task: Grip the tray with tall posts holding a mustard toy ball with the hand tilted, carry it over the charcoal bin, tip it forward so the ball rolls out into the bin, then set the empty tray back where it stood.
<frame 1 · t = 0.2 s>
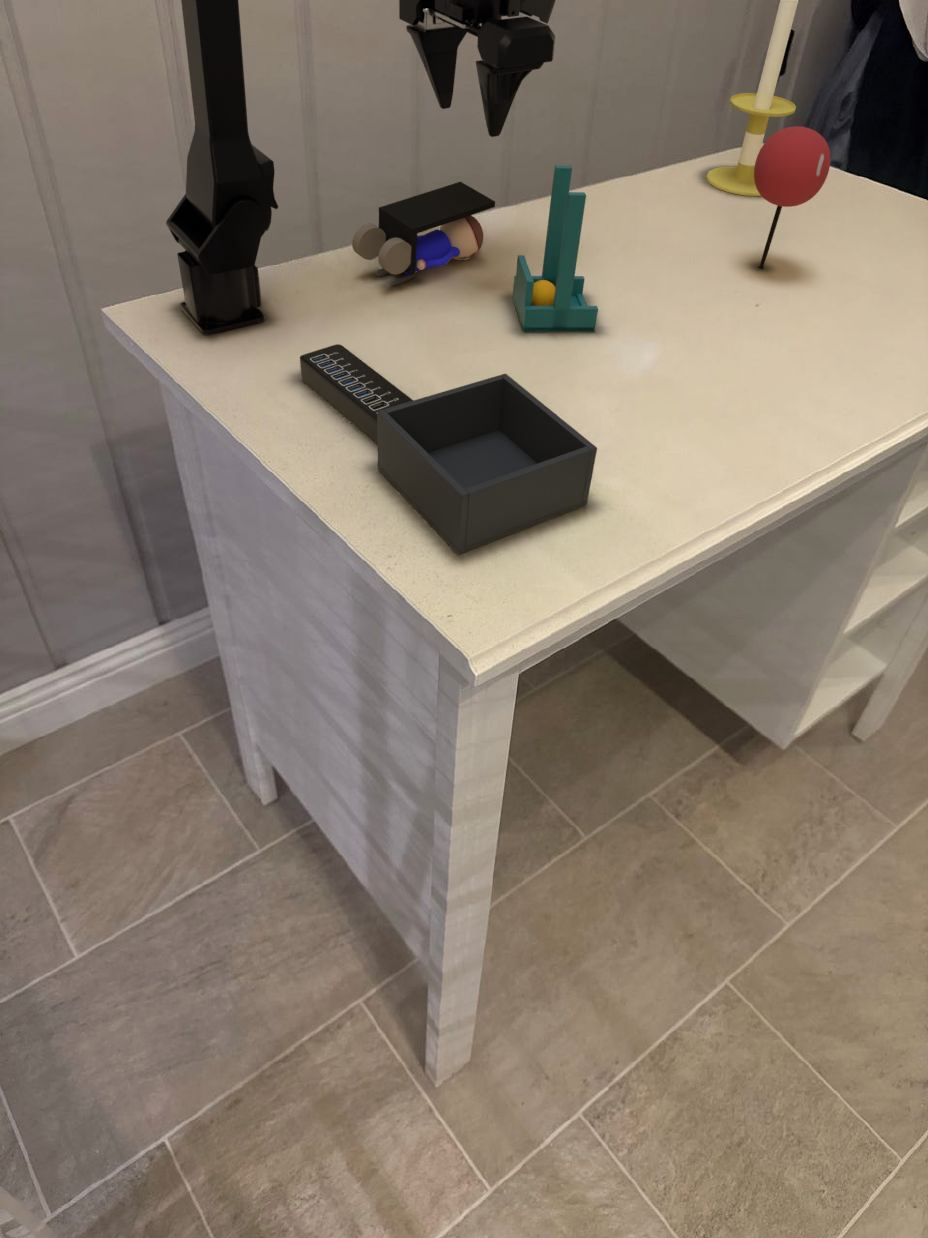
hand: (469, 121, 93), 15 cm above the table, tool pointing down, fingers open, 9 cm apart
candle: (742, 183, 126), on the table
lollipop: (761, 269, 107), on the table
figurine character: (424, 271, 102), on the table
multiport hub: (363, 409, 82), on the table
tray with tall posts: (552, 314, 96), on the table, touching toy ball
bin: (480, 487, 74), on the table
toy ball: (542, 295, 94), point 2 cm above the table, touching tray with tall posts
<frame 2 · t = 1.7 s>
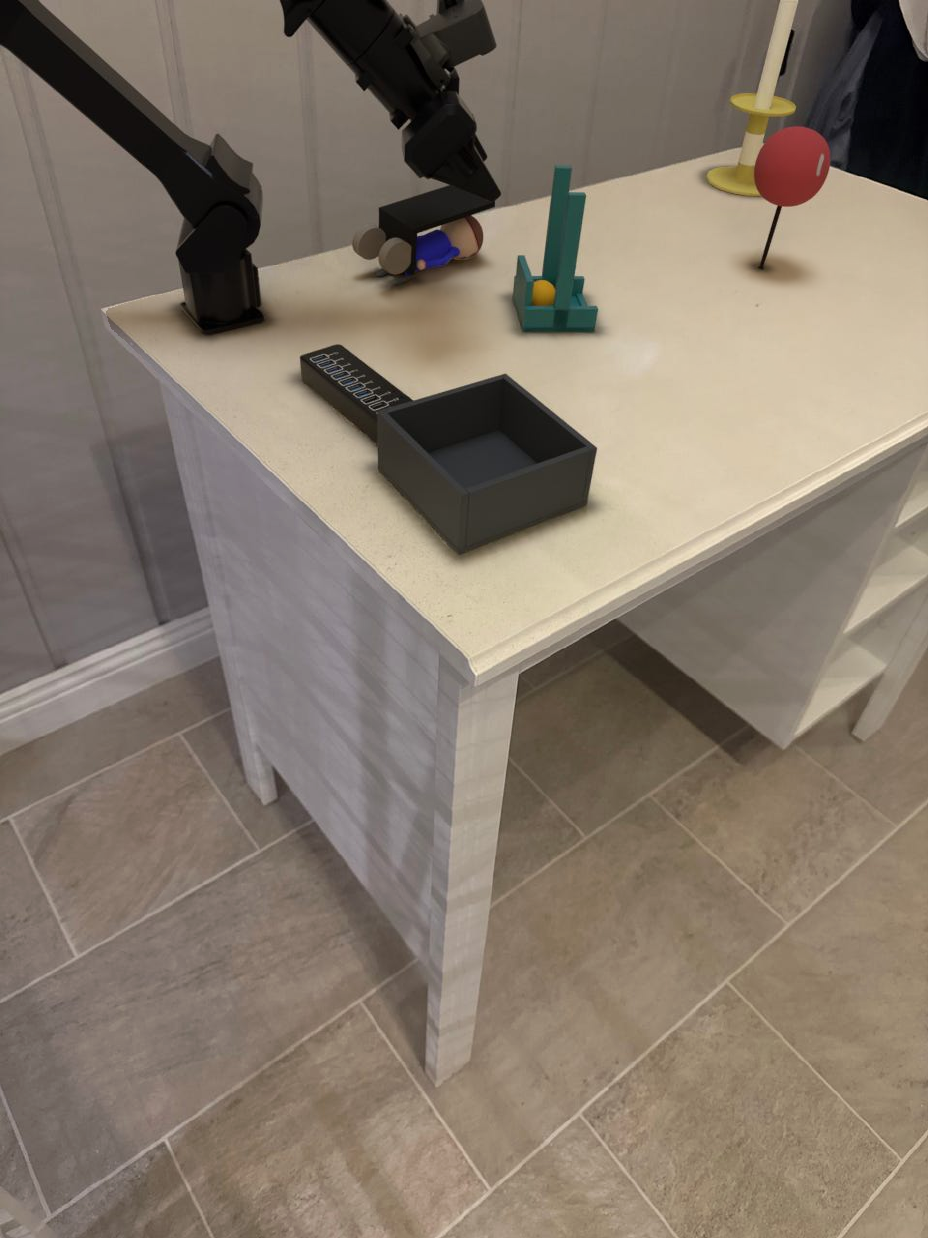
hand: (490, 178, 85), 13 cm above the table, tool tilted 45°, fingers open, 9 cm apart
toy ball: (541, 295, 94), point 2 cm above the table, tilted 5°, touching tray with tall posts
everything else where it was.
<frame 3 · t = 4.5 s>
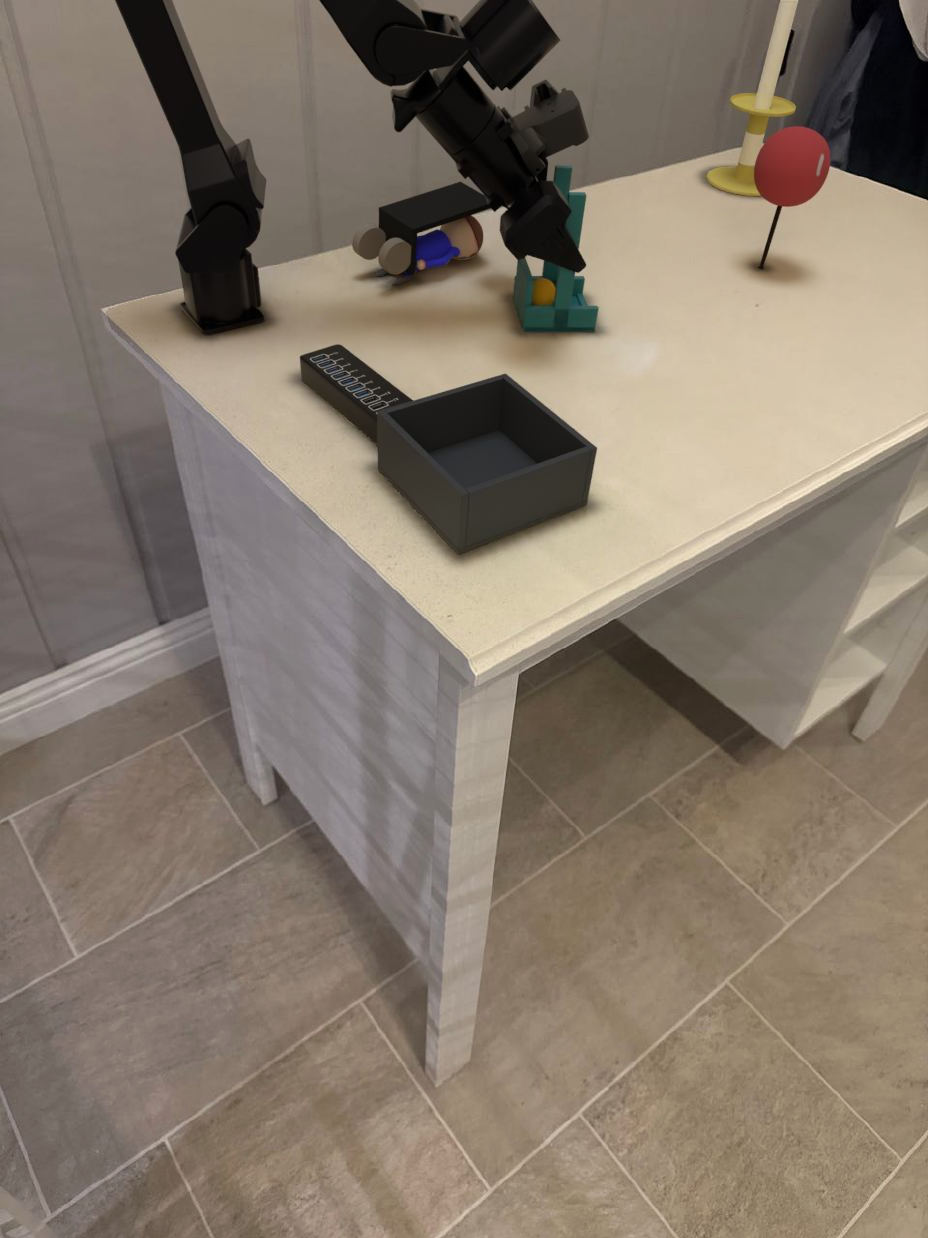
hand: (574, 251, 91), 7 cm above the table, tool tilted 45°, fingers closed on tray with tall posts, 7 cm apart
tray with tall posts: (552, 314, 96), on the table, touching gripper, toy ball
toy ball: (541, 293, 94), point 2 cm above the table, tilted 16°, touching tray with tall posts
everything else where it was.
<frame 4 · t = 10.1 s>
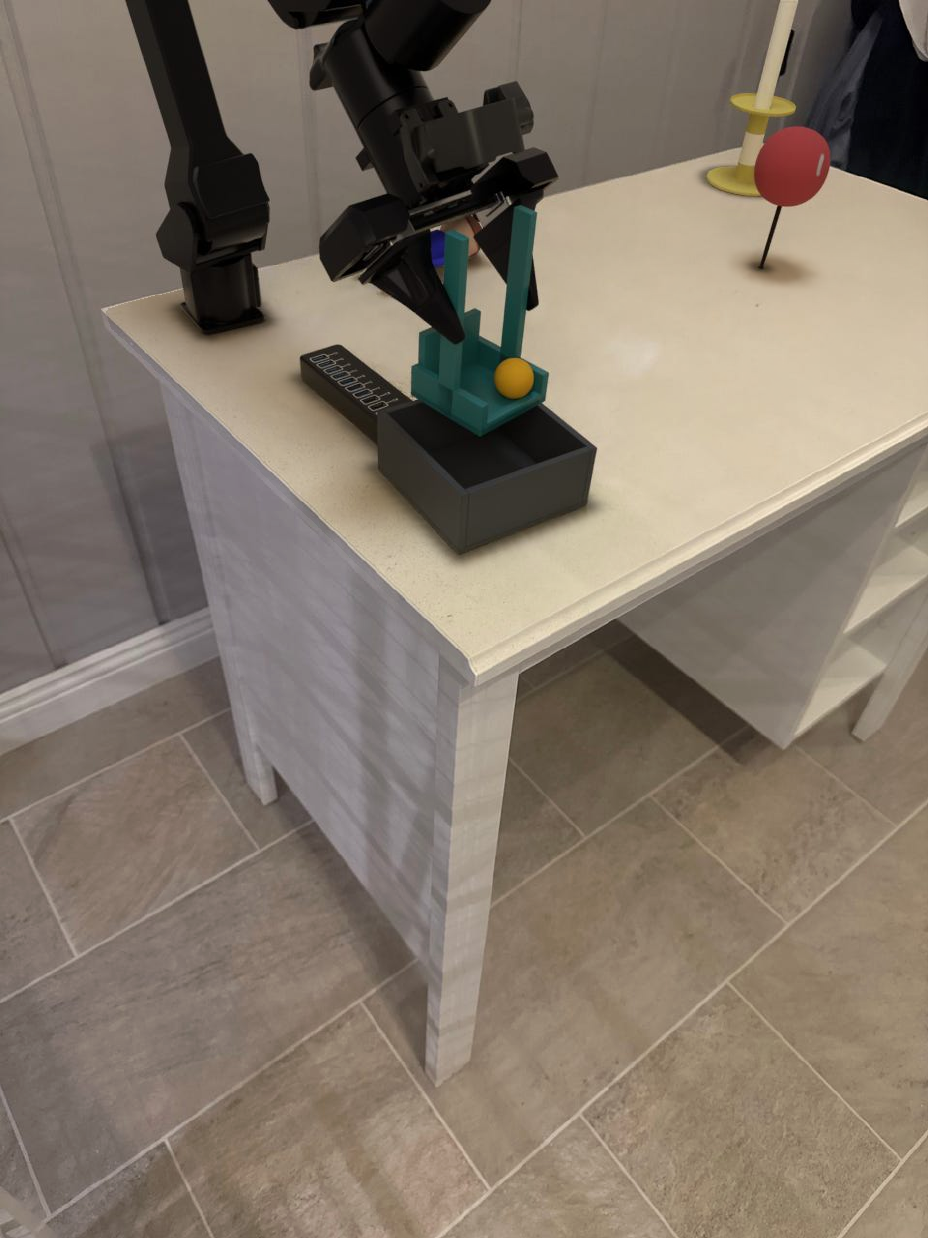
hand: (498, 324, 66), 13 cm above the table, tool tilted 45°, fingers closed on tray with tall posts, 7 cm apart
tray with tall posts: (478, 397, 71), point 7 cm above the table, touching gripper, toy ball
toy ball: (513, 378, 69), point 9 cm above the table, tilted 118°, touching tray with tall posts
everything else where it was.
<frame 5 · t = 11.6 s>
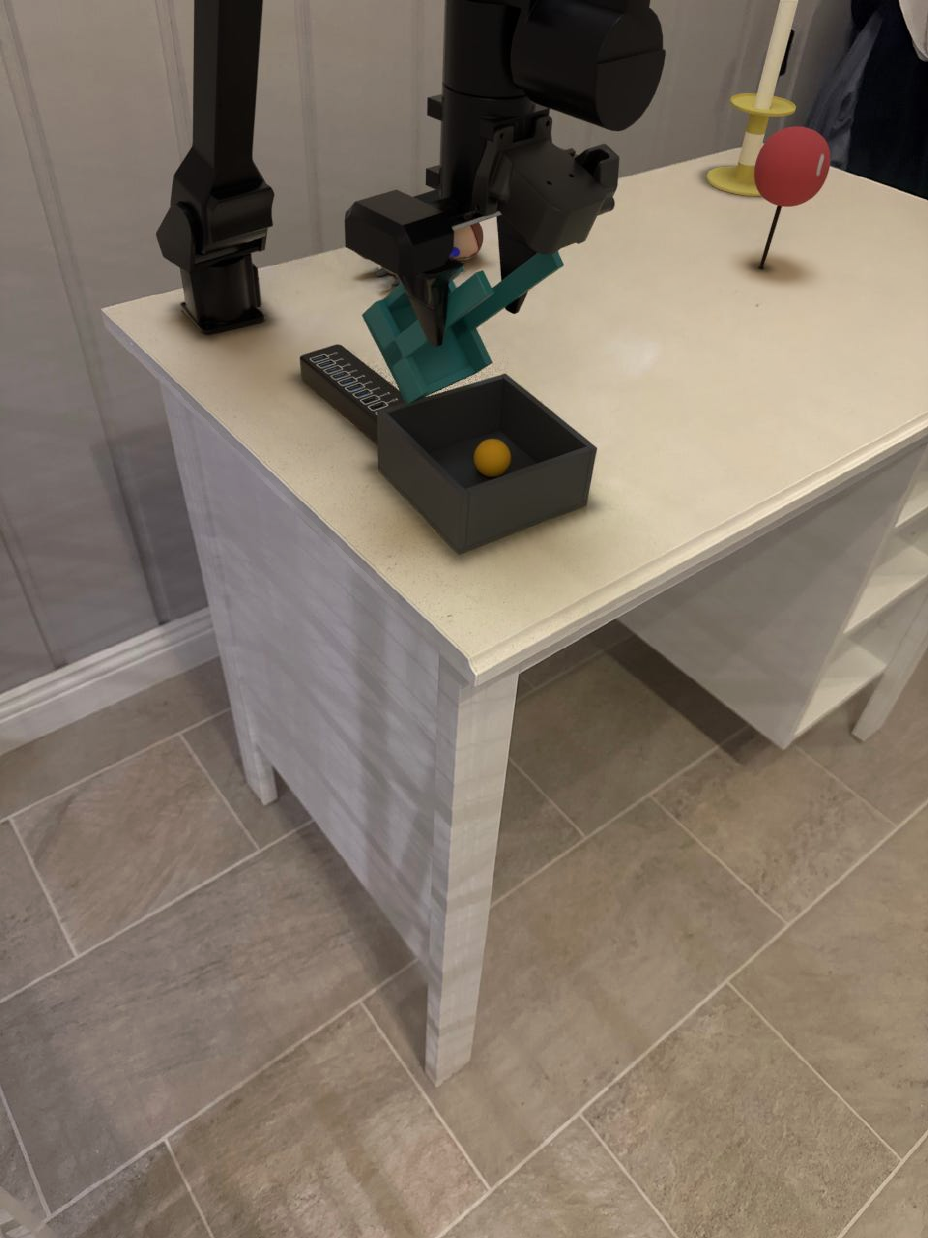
hand: (474, 327, 66), 13 cm above the table, tool pointing down, fingers closed on tray with tall posts, 7 cm apart
tray with tall posts: (420, 345, 71), point 9 cm above the table, tilted 45°, touching gripper
toy ball: (492, 458, 73), point 2 cm above the table, tilted 59°
everything else where it was.
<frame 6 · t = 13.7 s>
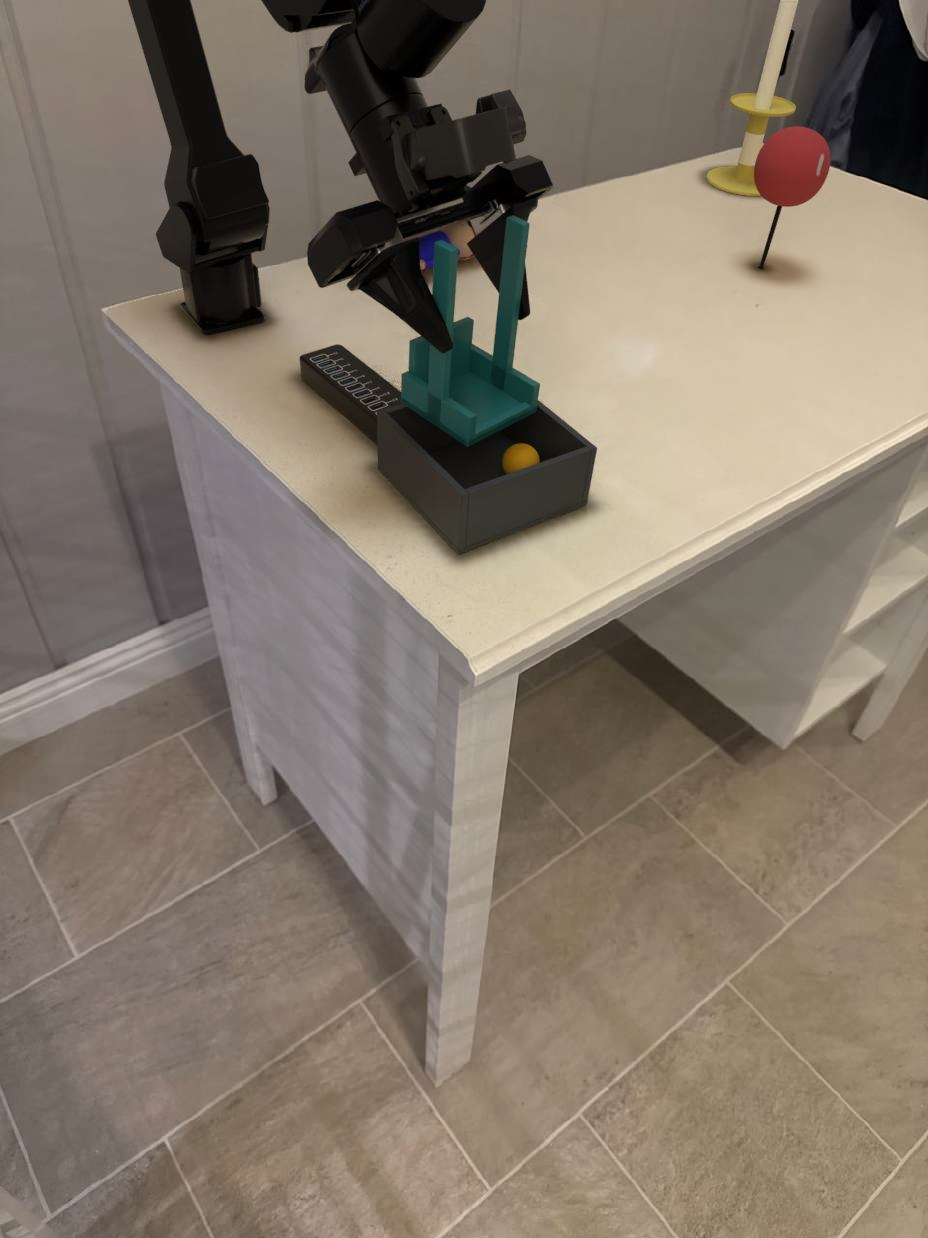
hand: (487, 333, 65), 13 cm above the table, tool tilted 45°, fingers closed on tray with tall posts, 7 cm apart
tray with tall posts: (468, 407, 70), point 6 cm above the table, touching gripper
toy ball: (520, 462, 73), point 2 cm above the table, tilted 110°, touching bin
everything else where it was.
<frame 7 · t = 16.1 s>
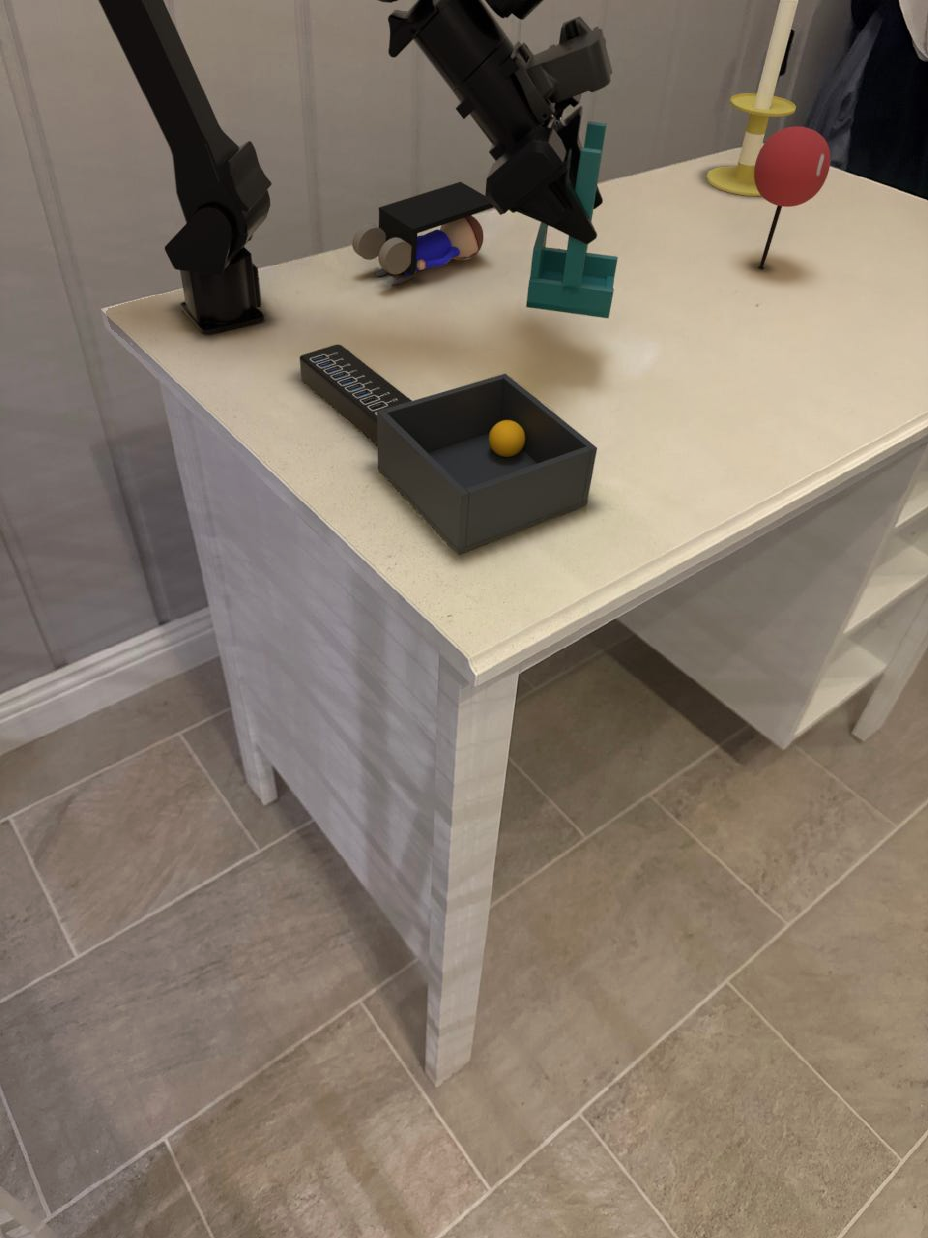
hand: (595, 222, 79), 13 cm above the table, tool tilted 45°, fingers closed on tray with tall posts, 7 cm apart
tray with tall posts: (570, 294, 84), point 7 cm above the table, touching gripper
toy ball: (507, 438, 76), point 2 cm above the table, tilted 35°, touching bin
everything else where it was.
when the fingers open (7 cm above the table, at t = 20.0 s): tray with tall posts stays where it is, on the table.
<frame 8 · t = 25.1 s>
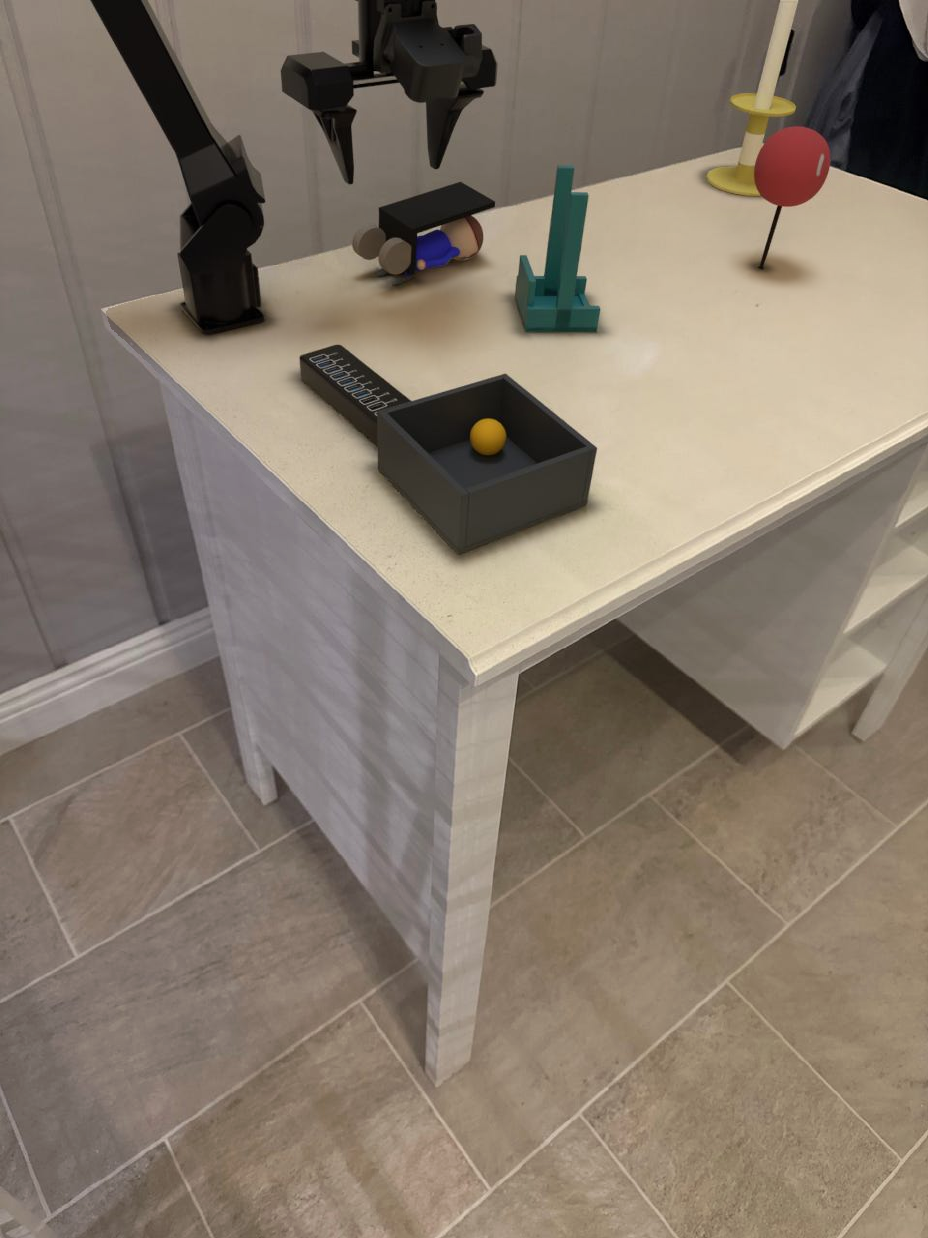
hand: (392, 175, 86), 13 cm above the table, tool pointing down, fingers open, 9 cm apart
tray with tall posts: (554, 314, 96), on the table
toy ball: (488, 437, 76), point 2 cm above the table, tilted 39°, touching bin
everything else where it was.
at the end: toy ball inside the target area in the bin (4.2 cm from its centre), point 2.0 cm above the bin's base; tray with tall posts tilted 0°; tray with tall posts inside the target area (0.2 cm from its centre), on the table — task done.
